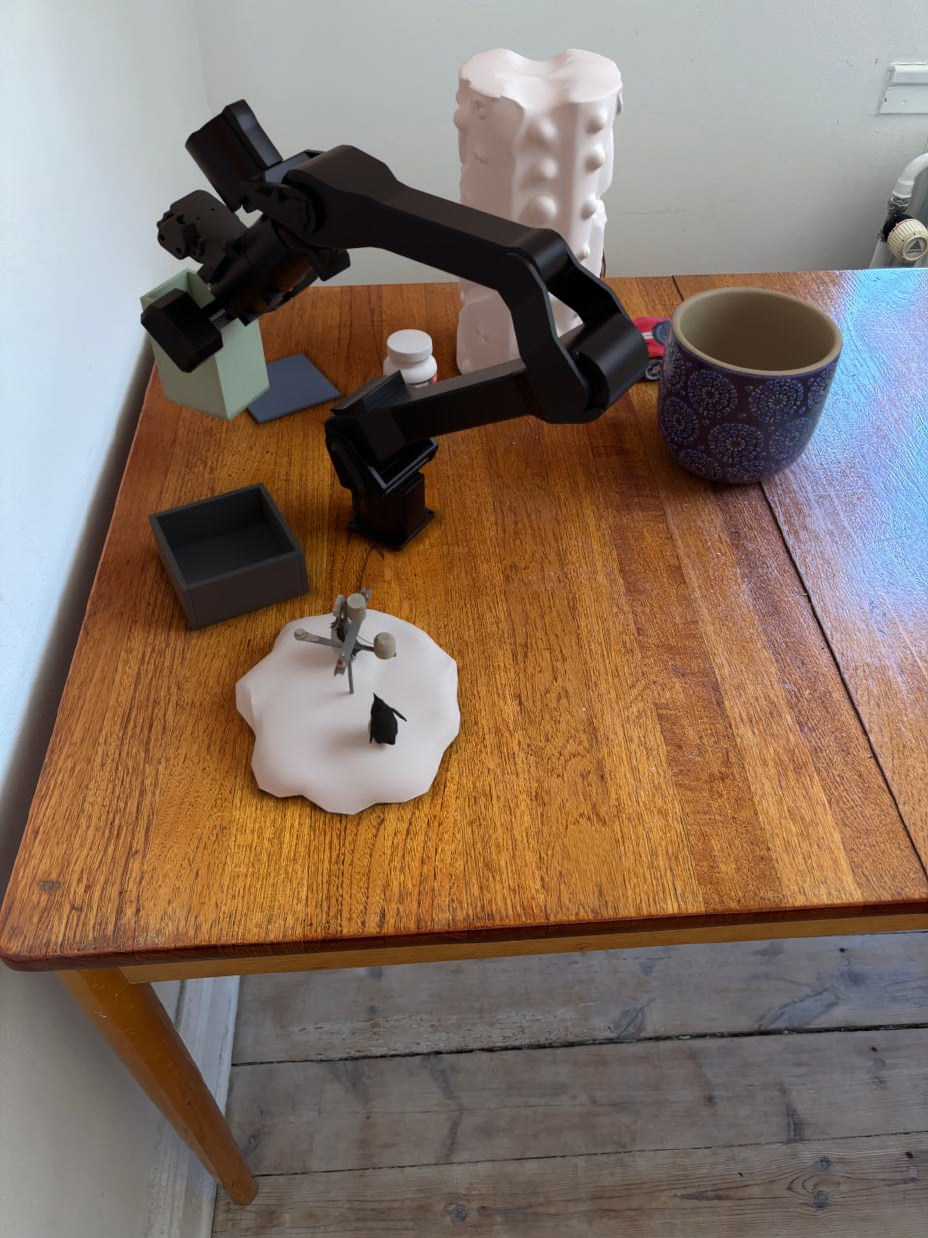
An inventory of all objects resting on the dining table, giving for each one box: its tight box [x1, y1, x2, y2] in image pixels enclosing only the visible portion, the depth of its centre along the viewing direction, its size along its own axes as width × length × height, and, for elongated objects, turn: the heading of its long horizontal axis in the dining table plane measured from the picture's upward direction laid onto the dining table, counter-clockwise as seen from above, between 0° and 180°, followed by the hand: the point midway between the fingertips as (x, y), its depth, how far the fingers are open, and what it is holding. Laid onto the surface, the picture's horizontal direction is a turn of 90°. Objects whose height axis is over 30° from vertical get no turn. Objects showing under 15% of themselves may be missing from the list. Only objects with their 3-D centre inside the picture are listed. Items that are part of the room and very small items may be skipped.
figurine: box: [235, 586, 461, 816], centre depth 77 cm, size 20×18×16 cm
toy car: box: [631, 316, 671, 381], centre depth 118 cm, size 10×22×5 cm, turn 93°
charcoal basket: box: [147, 481, 311, 632], centre depth 92 cm, size 11×11×5 cm
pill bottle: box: [382, 328, 438, 388], centre depth 107 cm, size 6×6×10 cm
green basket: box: [139, 267, 270, 423], centre depth 97 cm, size 8×7×11 cm
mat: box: [245, 352, 342, 424], centre depth 115 cm, size 10×10×1 cm
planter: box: [655, 286, 844, 485], centre depth 102 cm, size 17×17×15 cm
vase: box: [452, 47, 625, 375], centre depth 108 cm, size 17×16×32 cm
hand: (195, 335), depth 97 cm, fingers closed on green basket, 6 cm apart
